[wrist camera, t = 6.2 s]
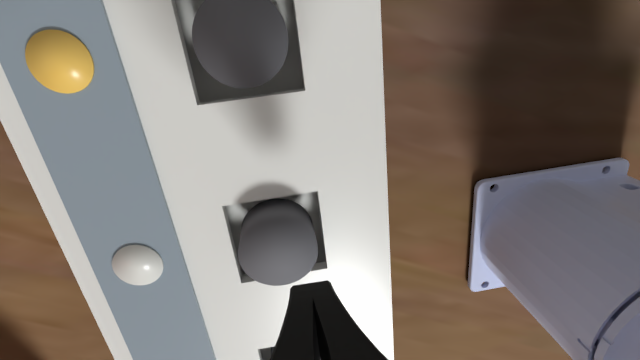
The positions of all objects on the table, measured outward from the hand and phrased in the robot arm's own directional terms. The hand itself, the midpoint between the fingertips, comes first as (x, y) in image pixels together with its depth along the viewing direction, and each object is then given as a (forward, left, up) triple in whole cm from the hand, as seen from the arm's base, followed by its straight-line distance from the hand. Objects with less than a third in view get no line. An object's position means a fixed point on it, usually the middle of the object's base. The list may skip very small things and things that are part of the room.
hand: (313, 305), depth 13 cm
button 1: (+1, -9, -7) cm, 11 cm away
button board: (+3, 0, -8) cm, 9 cm away
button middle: (+1, 0, -6) cm, 6 cm away
